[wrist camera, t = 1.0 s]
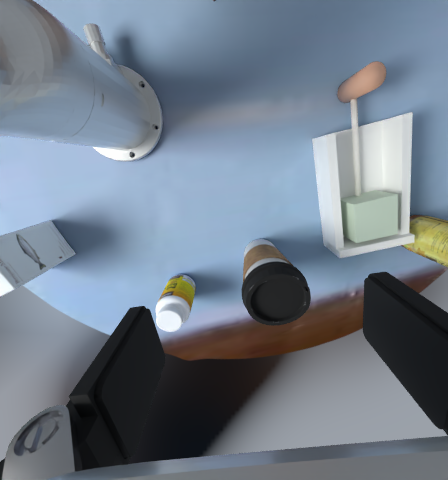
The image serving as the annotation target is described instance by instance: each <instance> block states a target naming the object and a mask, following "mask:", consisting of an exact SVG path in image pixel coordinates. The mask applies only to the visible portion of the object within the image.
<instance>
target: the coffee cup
mask: <svg viewBox="0 0 448 480" xmlns="http://www.w3.org/2000/svg"><path fill="white" fill-rule="evenodd" d="M242 299H243V303H244V305H245V307H246V309H247V310H248V312H249V314H250V315H251V317H252V318H253V319H255V320H256V321H258V322H260V323H262V324H266V325H282V324H287V323H290V322H292V321H294V320H296V319H298V318H299V317H301V316H302V315H303V314H304V313H305V312H306V311H307V309H308V308H309V305H310V300H311V296H310V289H309V287H308V284H307V281H306V279H305V277H304V276H303V274H302V273H301V272H300V271H299V270H298V269H297V268H296V267H294V266H293V265H292V264H291V263H290V262H289V261H288V260H287V259H286V258H285V257H284V256H283V254H282V253H281V252H280V251H279V250H278V249H277V248H276V247H275V246H274V245H273V244H272V243H271V242H270V241H268V240H265V239H257V240H254V241H252V242H250V243H249V244H248V245H247V247H246V248H245V251H244V269H243V285H242Z"/></svg>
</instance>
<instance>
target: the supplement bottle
mask: <svg viewBox="0 0 448 480" xmlns="http://www.w3.org/2000/svg"><path fill="white" fill-rule="evenodd" d="M195 291H196V285H195V283H194V281H193V280H192V279H191V278H190V277H189V276H186V275H181V274H180V275H175V276H173V277H172V278H171V279H170V280H169V281H168V283H167V285H166V287H165V289H164V291H163V293H162V295H161V297H160V299H159V301H158V303H157V305H156V315H157V318H156V323H157V325H158V326H159V328H161V329H162V330H164V331H168V332H173V331H176V330H178V329H179V328H180V327H181V325H182V324H183V323H184V322H185V321H186V320H187V319H188V318H189V315H190V311H191V307H192V303H193V299H194V295H195Z"/></svg>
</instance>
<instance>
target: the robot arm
mask: <svg viewBox="0 0 448 480" xmlns="http://www.w3.org/2000/svg"><path fill="white" fill-rule="evenodd" d="M83 30H84V32H85V35H86V38H87V41H88V43H89V46H90V47H89V46H88V45H87V44H86V43H85V42H84V41H82V40H81V39H80V38H79V37H78V36H77V35H75V34H74V33H73V32H72V31H71V30H70V29H68V28H67V27H66V26H65V25H64V24H63V23H61V22H60V21H59V20H58V19H57V18H56V17H54V16H53V15H52V14H51V13H49V12H48V11H47V10H46V9H44V8H43V7H42V6H40V5H39V4H37V3H36V2H34V1H33V0H0V136H2V137H16V138H26V139H35V140H43V141H50V142H58V143H66V144H74V145H82V146H89V147H93V148H94V149H95V150H96V151H98V152H99V153H100V154H102V155H104V156H106V157H108V158H110V159H113V160H117V161H134V160H138V159H141V158H143V157H145V156H146V155H148V154H149V153H150V152H151V151H152V150H153V149H154V148H155V146H156V145H157V143H158V141H159V139H160V136H161V133H162V126H163V115H162V110H161V105H160V102H159V100H158V97H157V95H156V94H155V92H154V90H153V88H152V87H151V86H150V85H149V84H148V82H147V81H146V80H145V79H144V78H143V77H142V76H141V75H139V74H138V73H137V72H135V71H134V70H132V69H130V68H128V67H125V66H122V65H118V64H114V61H113V58H112V56H110V55H109V54H108V53H107V50H106V47H105V42H104V39H103V36H102V33H101V30H100V28H99V26H98V25H95V24H86V25H85V26H84V28H83ZM143 85H145V87H144V88H143V87H142V86H143ZM156 126H158V129H157V130H156V128H155V127H156ZM134 153H135V157H134V156H133V154H134ZM363 333H364V336H365V338H366V339H367V341H368V342H369V343H370V345H371V346H372V347H373V348H374V349H375V351H376V352H377V353H378V355H379V356H380V357H381V358H382V360H383V361H384V362H385V363H386V364H387V366H388V367H389V368H390V370H391V371H392V372H393V373H394V375H395V376H396V377H397V378H398V380H399V381H400V382H401V384H402V385H403V386H404V387H405V389H406V390H407V391H408V392H409V394H410V395H411V396H412V397H413V399H414V400H415V401H416V402H417V404H418V405H419V406H420V407H421V408H422V410H423V411H424V412H425V414H426V415H427V416H428V417H429V419H430V420H431V421H432V422H433V423H434V425H435V426H436V427H438V428H439V429H443V430H444V431H445V432H446V434H447V435H448V313H447V312H446V311H444V310H443V309H441V308H440V307H438V306H437V305H435V304H434V303H432V302H431V301H429V300H428V299H426V298H425V297H423V296H421V295H420V294H419V293H417V292H416V291H414V290H413V289H411V288H410V287H408V286H407V285H405V284H404V283H402V282H401V281H399V280H398V279H396V278H395V277H393V276H392V275H390V274H389V273H387V272H380V273H372V274H369V276H368V278H366V279H365V281H364V311H363ZM164 364H165V354H164V351H163V348H162V345H161V342H160V339H159V336H158V333H157V330H156V327H155V324H154V321H153V318H152V315H151V312H150V310H149V309H146V308H145V306H140V307H133V308H130V309H129V310H128V312H127V313H126V315H125V316H124V317H123V319H122V320H121V322H120V323H119V325H118V326H117V328H116V329H115V330H114V332H113V333H112V335H111V336H110V338H109V339H108V341H107V342H106V343H105V345H104V346H103V348H102V349H101V351H100V352H99V354H98V355H97V356H96V358H95V360H94V361H93V362H92V364H91V365H90V367H89V368H88V369H87V371H86V372H85V374H84V375H83V377H82V378H81V380H80V381H79V383H78V384H77V385H76V387H75V388H74V390H73V391H72V393H71V394H70V395H69V398H70V401H69V402H68V404H67V405H66V406H64V405H56V406H53V407H49V408H47V409H45V410H43V411H42V412H40V413H38V414H37V415H36V416H34V417H33V418H31V419H30V420H29V421H28V422H27V423H26V424H25V425H24V426H23V427H22V428H21V429H20V430H19V431H18V432H17V434H16V435H15V436H14V438H13V439H12V441H11V443H10V444H9V446H8V450H7V452H6V457H5V459H3V460H2V461H1V462H0V480H448V436H442V437H429V438H417V439H404V440H392V441H379V442H368V443H355V444H343V445H331V446H320V447H308V448H297V449H285V450H274V451H262V452H251V453H239V454H229V455H219V456H207V457H196V458H187V459H176V460H165V461H154V462H144V463H135V464H128V463H129V460H130V457H133V456H134V455H135V453H136V451H137V448H138V444H139V442H140V438H141V435H142V432H143V429H144V426H145V423H146V420H147V417H148V414H149V411H150V407H151V404H152V401H153V398H154V395H155V392H156V389H157V386H158V382H159V379H160V376H161V373H162V370H163V367H164Z"/></svg>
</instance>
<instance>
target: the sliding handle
mask: <svg viewBox="0 0 448 480" xmlns="http://www.w3.org/2000/svg"><path fill="white" fill-rule="evenodd" d="M385 77H386V68H385V66H384V64H383V63H381V62H378V61H376V62H372V63H370V64H369V65H367V66H366V67H364V68H363V69H362V70H360V71H359V72H357V73H356V74H354V75H353V76H351V77H350V78H349V79H347V80H346V81H344V82H343V83H342V84H341V85H340V86H339V88H338V92H337V95H338V98H339V100H340V101H341V102H343V103H348V102H350V104H351V123H352V142H353V160H354V179H355V195H353V196H349V197H344V198H340V201H341V214H342V227H343V235H344V236H345V237H347V238H348V239H350V240H352V241H353V242H355V243H359V242H364V241H368V240H373V239H378V238H382V237H387V236H391V235H396V234H398V194H394V193H388V192H382V191H377V190H374V191H369V192H365V193H361V177H360V155H359V133H358V110H357V98H358V97H360V96H362V95H364V94H366V93H368V92H370V91H372V90H374V89H376V88H378V87H379V86H381V85H382V83H383V82H384V80H385Z"/></svg>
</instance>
